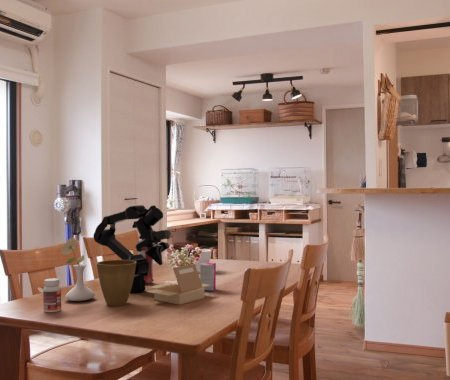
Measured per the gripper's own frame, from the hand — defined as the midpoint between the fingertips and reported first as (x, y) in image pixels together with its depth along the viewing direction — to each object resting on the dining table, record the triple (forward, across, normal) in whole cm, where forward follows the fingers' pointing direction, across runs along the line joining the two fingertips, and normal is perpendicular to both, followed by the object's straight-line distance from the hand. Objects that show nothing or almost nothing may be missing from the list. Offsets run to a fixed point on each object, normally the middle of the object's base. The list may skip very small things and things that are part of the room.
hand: (161, 264), depth 209 cm
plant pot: (+8, -15, +17) cm, 24 cm away
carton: (+15, 0, +1) cm, 15 cm away
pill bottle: (+2, -31, +32) cm, 45 cm away
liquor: (-3, +23, +21) cm, 32 cm away
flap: (+16, -3, -9) cm, 19 cm away
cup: (-3, +60, +8) cm, 60 cm away
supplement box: (+15, +19, -6) cm, 25 cm away
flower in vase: (-1, -15, +32) cm, 35 cm away
